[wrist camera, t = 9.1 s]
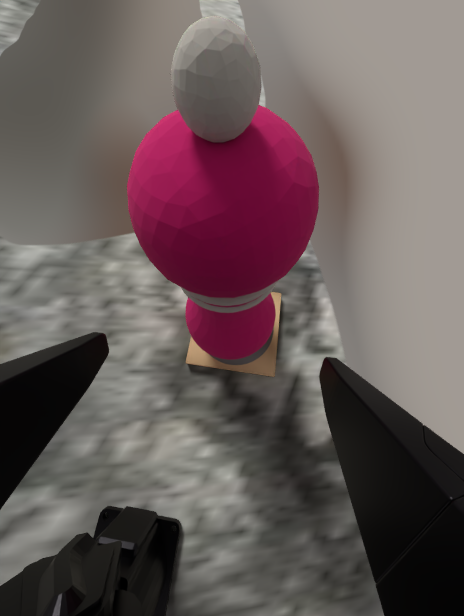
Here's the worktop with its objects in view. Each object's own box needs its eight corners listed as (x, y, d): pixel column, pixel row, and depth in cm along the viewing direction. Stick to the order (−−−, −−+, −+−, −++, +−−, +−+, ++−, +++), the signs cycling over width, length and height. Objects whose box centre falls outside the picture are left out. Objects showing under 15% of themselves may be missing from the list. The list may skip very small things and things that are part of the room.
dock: (273, 376, 22) (274, 376, 21) (187, 363, 22) (185, 362, 21) (279, 296, 24) (281, 293, 24) (203, 286, 25) (202, 283, 24)
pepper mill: (183, 316, 23) (-53, -9, 4) (243, 283, 24) (271, -88, 5) (218, 379, 21) (59, 302, 2) (281, 339, 22) (558, 57, 3)
